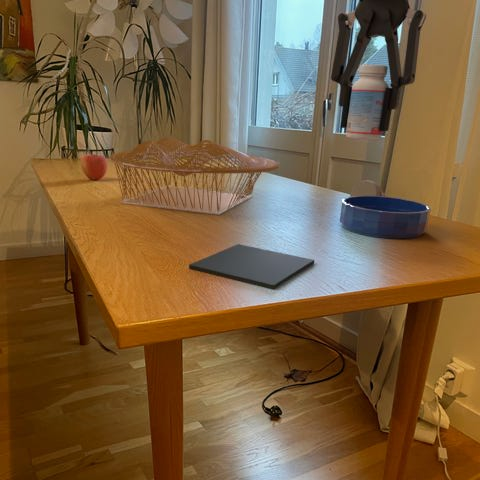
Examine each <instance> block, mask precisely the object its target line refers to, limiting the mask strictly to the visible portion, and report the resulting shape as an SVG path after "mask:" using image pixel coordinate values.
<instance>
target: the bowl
mask: <svg viewBox="0 0 480 480" xmlns="http://www.w3.org/2000/svg"><path fill="white" fill-rule="evenodd" d="M431 210H432V209H431V207H430V206H429V205H427V204H425V203H424V202H419V201H417V200H411V199H407V198H400V197H392V196H386V197H383V196H352V197H350V196H347V197H344V198H342V201H341V208H340V216H339V223H341V224H340V225H341V227H342V228H343V227H344V228H343V229H344V230H347V231H349V232H352V233H355V234H358V235H363V236H367V237H372V238H378V239H379V238H380V239H392V240H393V239H394V240H395V239H396V240H405V239H414V238H419V237H421V236H422V235H423V234H424V233H425V232H426V231H427V229H428V225H429V219H430V216H431Z"/></svg>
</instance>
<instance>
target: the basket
mask: <svg viewBox="0 0 480 480" xmlns="http://www.w3.org/2000/svg"><path fill="white" fill-rule="evenodd" d="M150 156H151V157H150ZM186 157H187V158H186ZM137 158H138V159H137ZM109 159H110V161H111V162H112V163H114V167H115V171H116V176H117V179H118V184H119V188H120V193H121V199H122V201H121V204H126V205H134V206H141V207H142V206H143V207H149V208H150V207H151V208H159V209H165V210H166V209H167V210H175V211H184V212H193V213H198V214H199V213H200V214H208V215H214V216H215V215H216V216H220V215H222V214H223V213H226V212H228V211H229V210H231V209H233V208H235V207H237V206H238V205H240V204H242V203H244V202H246V201H247V200H250V199H251V198H253V192H254V187H255V184H256V182H257V180H258V179H259V177H260V176H261V174H262V173H266V172H273V171H276V170H278V169H279V168H280V166H281V163H280V162H279V161H276V160H273V159H270V158H265V157H260V156H253V155H247V154H245V152H244V153H243V152H241V151H239V150H235V149H233V148H231V147H229V146H226V145H223V144H220V143H218V142H216V141H213V140H209V139H204V140H201V141H200V142H198V143H197V144H194V145H191V144H188V143H187V144H186V143H185V142H182V141H180V140H178V139H175V138H171V137H166V138H161V139H158V140H157V141H153V140H144V141H142V142H141V143H139V144H137V146H135V147H134V148H133V149H132V150H128V151H121V152H116V153H115V152H114V153H112V154H110V155H109ZM223 160H224V161H223ZM213 163H214V164H213ZM221 163H222V164H223V165H222V164H221ZM215 164H216V165H215ZM139 170H140V172H139ZM145 172H146V173H145ZM150 172H151V174H152V176H151V175H150ZM140 174H141V175H140ZM146 174H147V175H146ZM197 174H199V175H198V179H197ZM201 174H202V175H201ZM211 174H212V180H211V178H209V179H208V177H209V176H211ZM219 174H221V177H220V181H219V183H218V175H219ZM225 174H226V175H227V174H229V176H228V179H227V181H226V184H225V179H223V178H224V176H225ZM232 174H236V177H235V180H234V182H233V185H232V177H231V176H232ZM239 174H241V175H240V176H239ZM247 174H248V175H247ZM147 176H148V177H147ZM161 176H162V177H161ZM179 176H180V177H181V178H180V179H181V180H180V181H181V187H179V186H178V177H179ZM190 176H191V179H190ZM201 176H202V180H201V179H200V178H201ZM238 176H239V178H238ZM152 177H153V179H152ZM186 177H188V178H187V179H188V180H186ZM148 178H149V179H148ZM172 178H173V180H174V185H172ZM193 178H194V185H193V187H191V184H192V180H193ZM162 179H163V181H162ZM237 179H238V181H237ZM242 179H243V180H242ZM144 180H145V181H144ZM153 180H154V182H155V185H156V186H157V187H155V185H154V182H153ZM200 180H201V181H202V182H201V183H202V184H201V189H199V187H198V186H199V182H200ZM236 181H237V184H236ZM241 181H242V182H241ZM144 182H146V184H147V186H148V188H149V191H148V189H147V187H146V185H145V183H144ZM163 183H164V187H163ZM228 183H229V187H231V186H232V187H231V189H230V192H229V193H228V192H225V191H226V188H227V186H228ZM240 183H241V184H240ZM210 184H211V185H210ZM214 184H215V191H214ZM224 184H225V185H224ZM235 184H236V187H235V189H234V186H235ZM239 185H240V186H239ZM205 186H206V190H205ZM224 186H225V187H224ZM142 187H143V188H142ZM238 187H239V188H238ZM134 188H135V189H136V193H135V190H134ZM139 188H140V189H139ZM156 188H157V190H156ZM219 188H220V189H223V191H222V190H220V191H218V190H219ZM233 189H234V191H233ZM140 190H141V192H142V194H141V192H140ZM232 192H233V193H232ZM128 193H129V194H128ZM132 195H133V197H132ZM129 196H130V197H129Z"/></svg>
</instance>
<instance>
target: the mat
mask: <svg viewBox="0 0 480 480" xmlns="http://www.w3.org/2000/svg"><path fill="white" fill-rule="evenodd" d="M314 264H315V259H312V258H307V257H304V256H298V255H293V254H288V253H282V252H278V251H273V250H269V249H265V248H260V247H256V246H255V247H254V246H249V245H245V244H240V243H237V244H235V245H232V246H230V247H228V248H225V249H223V250H220V251H218V252H215V253H213V254H211V255H209V256H206V257H204V258H202V259H199V260H196V261H194V262H192V263H189V264H188V269H190V270H195V271H198V272H203V273H207V274H209V275H210V274H211V275H214V276H219V277H222V278H226V279H230V280H235V281H240V282H243V283H247V284H251V285H254V286H258V287H262V288H265V289H266V288H267V289H270V290H275V289H276V288H278V287H279V286H281V285H283V284H284V283H286V282H287V281H289V280H290V279H292V278H294V277H295V276H297V275H298V274H300V273H301V272H303V271H305V270H306V269H307V268H309V267H311V266H313V265H314ZM296 274H297V275H296ZM293 276H294V277H293Z"/></svg>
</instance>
